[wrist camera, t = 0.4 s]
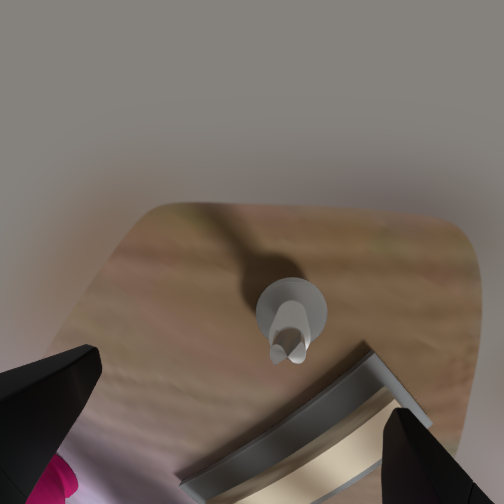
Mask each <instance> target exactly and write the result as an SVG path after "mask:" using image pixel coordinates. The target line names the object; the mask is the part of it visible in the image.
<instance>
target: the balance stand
mask: <svg viewBox="0 0 504 504" xmlns="http://www.w3.org/2000/svg"><path fill="white" fill-rule="evenodd" d="M396 407H403V408H408V409H410V410H411V411H412V413H413V414H414V415H415V416H416V417H417V418H418V419H419V420H420V422H421V423H422V424H423V425H424V426H425V427H426V428H427V429H428V428H429V427H430V426H431V425H432V424H433V423H432V422H431V420H430V419H429V418H428V417H427V415H426V414H425V413H424V412H423V410H422V409H421V408H420V407H419V406H418V404H417V403H416V402H415V401H414V399H413V398H412V397H411V396H410V395H409V393H408V392H407V391H406V390H405V389H404V387H403V386H402V385H401V384H400V383H399V381H398V380H397V379H396V378H395V377H394V375H393V374H392V373H391V372H390V371H389V369H388V368H387V367H386V366H385V365H384V363H383V362H382V361H381V360H380V359H379V357H378V356H377V355H376V354H375V353H374V352H373V351H372V350H371V351H370V352H369V353H367V354H366V355H365V356H364V357H363V358H362V359H360V360H359V361H358V362H357V363H356V364H355V365H353V366H352V367H351V368H350V369H349V370H347V371H346V372H345V373H344V374H343V375H341V376H340V377H339V378H338V379H337V380H335V381H334V382H333V383H332V384H330V385H329V386H328V387H326V388H325V389H324V390H323V391H321V392H320V393H319V394H317V395H316V396H315V397H314V398H312V399H311V400H310V401H308V402H307V403H306V404H304V405H303V406H301V407H300V408H299V409H297V410H296V411H295V412H293V413H292V414H290V415H289V416H288V417H286V418H285V419H283V420H282V421H280V422H279V423H278V424H276V425H275V426H273V427H272V428H270V429H269V430H267V431H266V432H264V433H263V434H261V435H260V436H258V437H257V438H255V439H253V440H252V441H250V442H249V443H247V444H246V445H244V446H242V447H241V448H239V449H238V450H236V451H234V452H233V453H231V454H229V455H228V456H226V457H224V458H223V459H221V460H219V461H217V462H216V463H214V464H212V465H210V466H209V467H207V468H205V469H203V470H201V471H200V472H198V473H196V474H194V475H192V476H190V477H188V478H186V479H184V480H183V481H181V483H180V485H179V486H178V487H179V488H181V489H182V490H183V491H184V492H185V493H186V494H187V495H189V496H190V497H191V498H192V499H193V500H194V501H196V502H197V503H198V504H320V503H321V502H323V501H325V500H327V499H329V498H330V497H332V496H334V495H336V494H337V493H339V492H341V491H342V490H344V489H345V488H347V487H349V486H350V485H352V484H354V483H355V482H357V481H358V480H360V479H361V478H363V477H364V476H366V475H367V474H369V473H370V472H372V471H373V470H375V469H376V468H377V467H379V466H380V465H382V448H383V429H384V426H385V424H386V422H387V420H388V418H389V417H390V415H391V413H392V411H393V409H394V408H396Z"/></svg>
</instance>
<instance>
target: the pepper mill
mask: <svg viewBox="0 0 504 504" xmlns="http://www.w3.org/2000/svg"><path fill="white" fill-rule="evenodd" d="M77 489H78V481H77V478H76V476H75V474H74V472H73V471H72V469H71V468H70V467H69V465H68V464H67V463H66V462H65V461H64V460H63V459H61V458H60V457H59V456H58V455H56V454H54V456H53V457H52V459H51V461H50V462H49V464H48V465H47V467H46V469H45V470H44V472H43V474H42V475H41V477H40V479H39V480H38V482H37V484H36V485H35V487H34V489H33V490H32V492H31V494H30V496H29V497H28V499H27V501H26V503H25V504H65V498H68V497H70V496H71V495H72V494H73V493H75V492H76V491H77Z"/></svg>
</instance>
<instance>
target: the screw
mask: <svg viewBox="0 0 504 504" xmlns="http://www.w3.org/2000/svg"><path fill="white" fill-rule="evenodd" d="M256 319H257V324H258V326H259V328H260V330H261V332H262V333H263V335H264V336H265V337H266V338H267V339H268V340H269V344H270V346H271V349H270V358H271V361H272V362H273V364H274V365H276V364H278V363H279V362H281V361H282V360H284V359H285V358H286V359H287V360H289V361H291V362H292V363H296V364H299V363H302V362H303V361H304V360H305V358H306V350H307V348H308V346H309V343H310V342H312V341H314V340H315V339H316V338H317V337H318V336H319V335H320V333H321V332H322V330H323V329H324V326H325V324H326V320H327V305H326V301H325V298H324V297H323V295H322V293H321V292H320V290H319V289H318V288H317V287H316V286H315V285H313V284H312V283H310V282H309V281H306V280H304V279H301V278H296V277H291V278H284V279H280V280H278V281H276V282H274V283H272V284H271V285H269V286H268V287H267V288H266V289H265V290H264V291H263V293H262V294H261V296H260V298H259V300H258V303H257V307H256Z"/></svg>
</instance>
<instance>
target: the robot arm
mask: <svg viewBox="0 0 504 504" xmlns="http://www.w3.org/2000/svg"><path fill="white" fill-rule="evenodd" d="M101 373H102V364H101V359H100V354H99V350H98V348H96V347H94V346H91V345H88V344H85V345H82V346H79V347H76V348H74V349H71V350H68V351H65V352H62V353H59V354H56V355H53V356H50V357H47V358H44V359H41V360H38V361H36V362H32V363H30V364H26V365H23V366H21V367H17V368H14V369H11V370H8V371H5V372H2V373H0V504H25V503H26V501H27V499H28V497H29V496H30V494H31V492H32V490H33V489H34V487H35V485H36V484H37V482H38V480H39V479H40V477H41V475H42V474H43V472H44V470H45V469H46V467H47V465H48V464H49V462H50V461H51V459H52V457H53V456H54V454H55V453H56V451H57V449H58V448H59V446H60V445H61V443H62V441H63V440H64V438H65V437H66V435H67V434H68V432H69V430H70V429H71V427H72V426H73V424H74V423H75V421H76V420H77V418H78V417H79V415H80V413H81V412H82V410H83V408H84V407H85V405H86V403H87V401H88V399H89V397H90V395H91V393H92V391H93V389H94V387H95V385H96V383H97V381H98V379H99V377H100V375H101ZM381 484H382V504H494V503H493V502H492V501H491V500H490V499H489V498H488V497H487V496H486V494H485V493H484V492H483V491H482V490H481V489H480V488H479V487H478V486H477V484H476V483H473V480H472V479H471V478H470V477H469V475H468V474H467V473H466V472H465V471H464V470H463V469H462V468H461V467H460V465H459V464H458V463H457V462H456V461H455V460H454V459H453V457H452V456H451V455H450V454H449V453H448V452H447V451H446V450H445V448H444V447H443V446H442V445H441V444H440V443H439V442H438V441H437V439H436V438H435V437H434V436H433V435H432V434H431V433H430V432H429V430H428V429H427V428H426V427H425V426H424V425H423V424H422V423H421V422H420V420H419V419H418V418H417V417H416V416H415V415H414V414H413V413H412V411H411V410H410V409H408V408H403V407H396V408H394V409H393V411H392V413H391V415H390V417H389V418H388V420H387V422H386V424H385V426H384V429H383V448H382V468H381Z"/></svg>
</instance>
